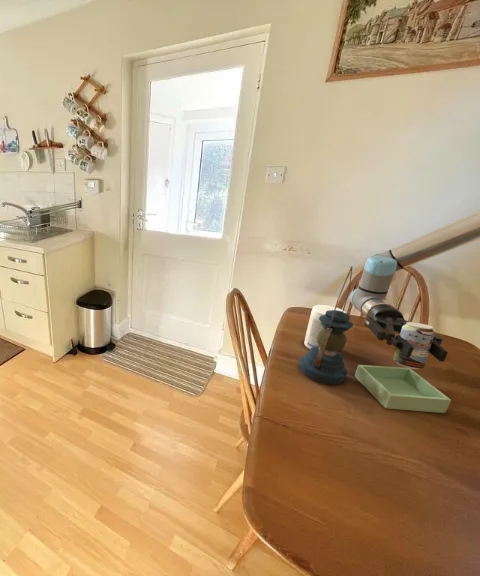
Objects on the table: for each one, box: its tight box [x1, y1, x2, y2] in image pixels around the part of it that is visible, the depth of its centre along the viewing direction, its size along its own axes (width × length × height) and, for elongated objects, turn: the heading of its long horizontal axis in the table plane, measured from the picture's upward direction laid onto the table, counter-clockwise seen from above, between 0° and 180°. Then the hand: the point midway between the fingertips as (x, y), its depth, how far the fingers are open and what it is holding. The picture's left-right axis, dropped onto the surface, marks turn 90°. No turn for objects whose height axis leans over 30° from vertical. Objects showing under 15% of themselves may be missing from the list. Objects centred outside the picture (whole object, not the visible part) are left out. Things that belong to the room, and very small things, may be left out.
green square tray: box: [354, 364, 452, 414], centre depth 87 cm, size 14×14×4 cm
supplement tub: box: [303, 304, 347, 350], centre depth 107 cm, size 10×10×15 cm
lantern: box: [299, 265, 354, 386], centre depth 90 cm, size 14×12×35 cm
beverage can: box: [392, 321, 436, 370], centre depth 82 cm, size 6×7×12 cm
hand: (426, 354), depth 78 cm, fingers closed on beverage can, 6 cm apart
